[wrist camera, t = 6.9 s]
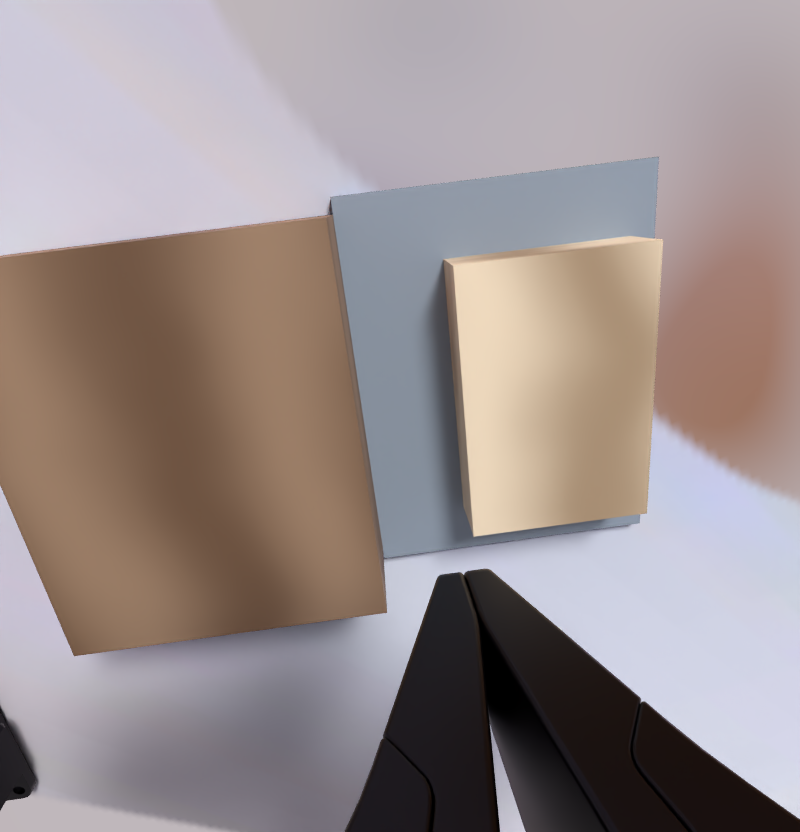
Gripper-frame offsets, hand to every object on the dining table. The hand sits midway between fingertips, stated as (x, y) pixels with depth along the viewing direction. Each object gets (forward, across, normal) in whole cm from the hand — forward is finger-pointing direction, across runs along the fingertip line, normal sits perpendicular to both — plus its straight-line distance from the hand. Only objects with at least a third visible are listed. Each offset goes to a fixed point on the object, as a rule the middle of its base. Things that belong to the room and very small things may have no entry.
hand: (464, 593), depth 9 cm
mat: (+11, -3, 0) cm, 11 cm away
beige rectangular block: (+8, -4, 0) cm, 10 cm away
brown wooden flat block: (+11, +7, 0) cm, 13 cm away
